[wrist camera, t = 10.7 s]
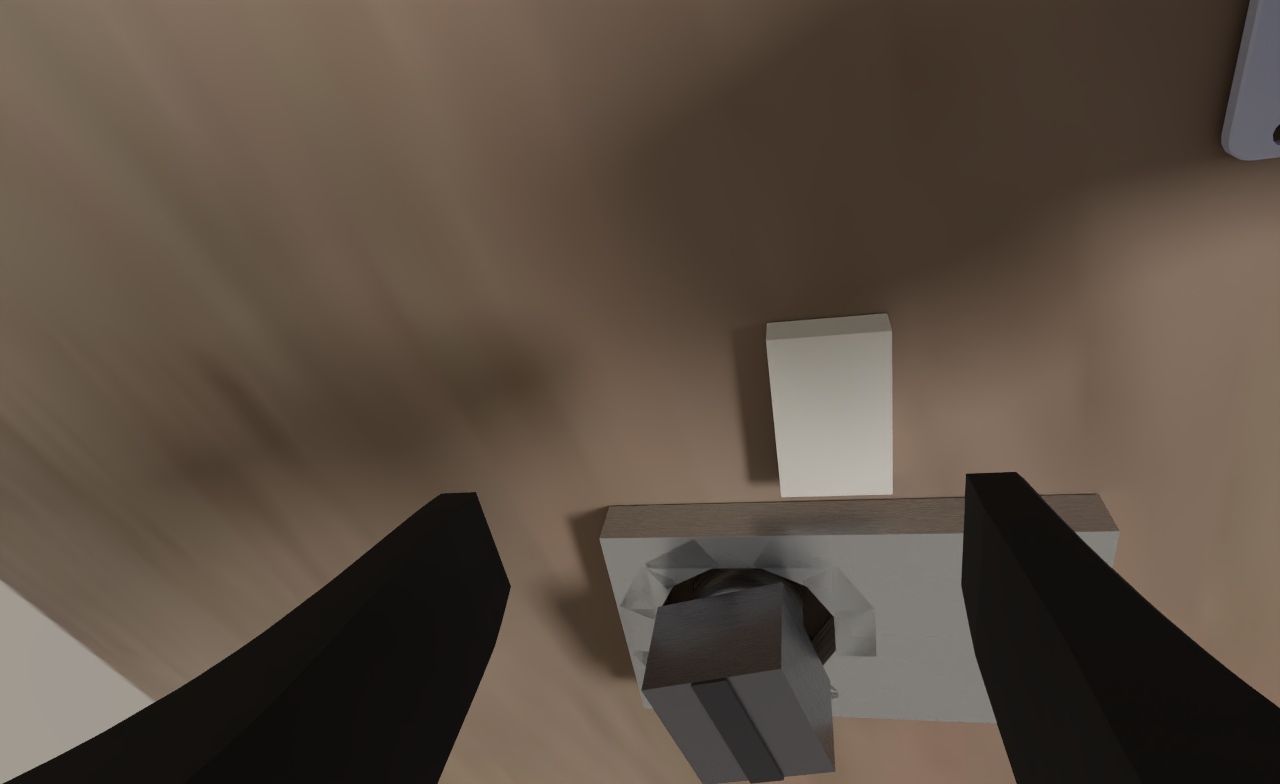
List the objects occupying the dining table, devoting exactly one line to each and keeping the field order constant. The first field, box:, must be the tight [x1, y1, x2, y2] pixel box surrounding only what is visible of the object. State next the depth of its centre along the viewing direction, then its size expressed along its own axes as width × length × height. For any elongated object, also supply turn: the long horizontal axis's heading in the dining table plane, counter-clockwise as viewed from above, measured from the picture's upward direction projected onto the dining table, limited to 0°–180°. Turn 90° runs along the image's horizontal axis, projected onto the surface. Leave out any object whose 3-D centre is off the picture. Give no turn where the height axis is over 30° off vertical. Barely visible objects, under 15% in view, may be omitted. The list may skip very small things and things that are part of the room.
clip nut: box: [641, 568, 835, 784], centre depth 22 cm, size 4×4×5 cm
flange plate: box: [599, 494, 1120, 723], centre depth 23 cm, size 14×8×2 cm, turn 100°
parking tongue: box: [766, 313, 893, 497], centre depth 19 cm, size 3×5×1 cm, turn 10°
